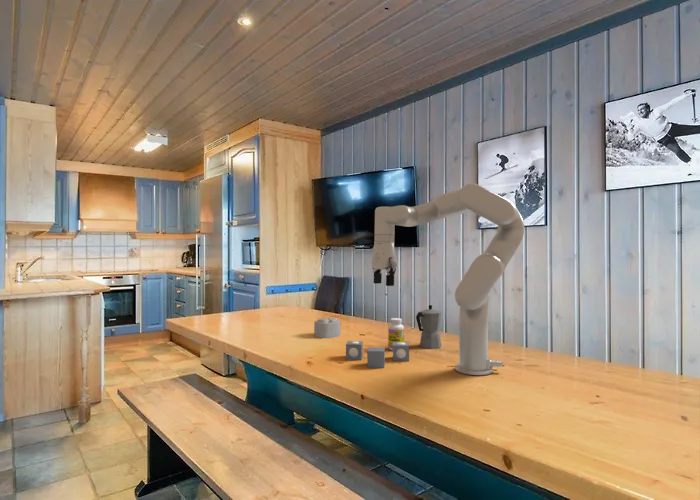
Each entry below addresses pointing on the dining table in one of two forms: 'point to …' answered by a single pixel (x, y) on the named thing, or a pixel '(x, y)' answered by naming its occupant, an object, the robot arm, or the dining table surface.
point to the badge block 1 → (354, 350)
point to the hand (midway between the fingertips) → (383, 284)
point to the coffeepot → (429, 328)
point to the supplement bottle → (395, 332)
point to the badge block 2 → (400, 351)
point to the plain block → (375, 357)
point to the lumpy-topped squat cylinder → (327, 328)
